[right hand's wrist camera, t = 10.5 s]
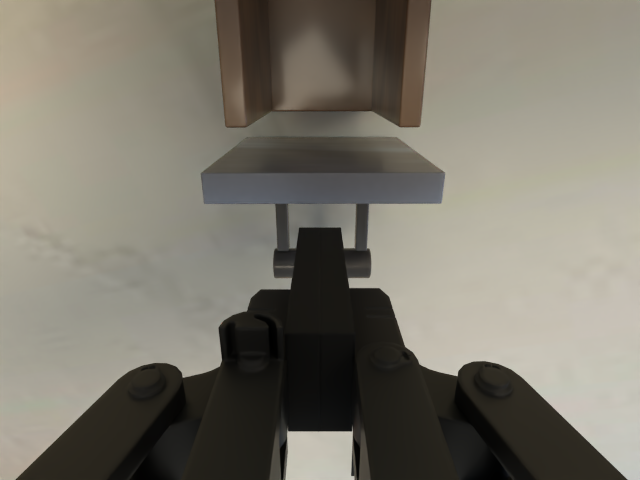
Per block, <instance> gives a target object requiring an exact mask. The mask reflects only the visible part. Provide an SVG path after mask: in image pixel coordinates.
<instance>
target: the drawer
mask: <svg viewBox="0 0 640 480" xmlns="http://www.w3.org/2000/svg"><path fill="white" fill-rule="evenodd" d="M215 11H216V23H217V34H218V46H219V58H220V69H221V81H222V93H223V104H224V116H225V126H226V127H247V126H249V125H251V124H252V123H254V122H255V121H257V120H258V119H260V118H262V117H263V116H265V115H266V114H268V113H270V112H271V111H373V112H375V113H377V114H378V115H380V116H382V117H383V118H385V119H387V120H389V121H390V122H392V123H394V124H396V125H397V126H399V127H420V125H421V114H422V102H423V91H424V79H425V68H426V57H427V45H428V34H429V22H430V11H431V0H215ZM444 179H445V173H444V172H443V171H442V170H440V169H439V168H438V167H436V166H435V165H434V164H432V163H431V162H430V161H428V160H427V159H425V158H424V157H423V156H421V155H420V154H419V153H417V152H416V151H415V150H413V149H412V148H411V147H409V146H408V145H406V144H405V143H404V142H402V141H401V140H400V139H398V138H397V137H302V138H246V139H244V140H243V141H242V142H241V143H239V144H238V145H237V146H235V147H234V148H233V149H232V150H230V151H229V152H228V153H226V154H225V155H224V156H222V157H221V158H220V159H219V160H217V161H216V162H215V163H213V164H212V165H211V166H210V167H208V168H207V169H206V170H204V171H203V172H202V173H201V180H202V189H203V198H204V203H205V204H276V225H277V248H276V249H275V250H274V258H273V270H274V277H275V278H292V276H293V269H294V262H295V255H296V248H289V247H290V244H289V212H288V204H356V224H355V248H344V255H345V262H346V269H347V276H348V278H370V275H371V253H370V249H369V248H367V235H368V213H369V204H423V203H442V196H443V187H444Z"/></svg>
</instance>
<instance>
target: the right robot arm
mask: <svg viewBox="0 0 640 480" xmlns="http://www.w3.org/2000/svg"><path fill="white" fill-rule="evenodd" d="M219 336H220V345H221V354H222V362H221V365H220V367H218V368H216V369H214V370H212V371H209V372H206V373H203V374H199V375H194V376H190V377H185V378H182V373H181V371H180V370H179V369H178V368H177V367H176V366H173V365H170V364H167V363H153V364H148V365H143V366H140V367H138V368H136V369H134V370H131V371H129V372H128V373H126V374H125V375H124V376H122V377H121V378H120V379H118V380H117V381H116V382H115V383H114V384H113V385H112V386H111V387H110V388H109V389H108V390H107V391H106V392H105V393H104V394H103V395H102V396H101V397H100V398H99V399H98V400H97V401H96V402H95V403H94V404H93V405H92V406H91V407H90V408H89V409H88V410H87V411H86V412H85V413H84V414H83V415H81V416H80V417H79V418H78V419H77V420H76V421H75V422H74V423H73V424H72V425H71V426H70V427H69V428H68V429H67V430H66V431H65V432H64V433H63V434H62V435H61V436H60V437H59V438H58V439H57V440H56V441H55V442H54V443H53V444H52V445H51V446H50V447H49V448H48V449H47V450H46V451H45V452H44V453H42V454H41V455H40V456H39V457H38V458H37V459H36V460H35V461H34V462H33V463H32V464H31V465H30V466H29V467H28V468H27V469H26V470H25V471H24V472H23V473H22V474H21V475H20V476H19V477H18V478H17V479H16V480H285V478H286V466H287V454H288V447H287V429H288V431H352V427H353V447H352V471H351V476H354V477H355V480H627V479H626V478H625V477H624V476H623V475H622V474H621V473H620V472H619V471H618V470H617V469H616V468H615V467H614V466H613V465H612V464H611V463H610V462H609V461H608V460H607V459H605V458H604V457H603V456H602V455H601V454H600V453H599V452H598V451H597V450H596V449H595V448H594V447H593V446H592V445H591V444H590V443H589V442H588V441H587V440H586V439H585V438H584V437H583V436H582V435H581V434H580V433H579V432H578V431H577V430H575V429H574V428H573V427H572V426H571V425H570V424H569V423H568V422H567V421H566V420H565V419H564V418H563V417H562V416H561V415H560V414H559V413H558V412H557V411H556V410H555V409H554V408H553V407H552V406H551V405H550V404H549V403H548V402H547V401H546V400H544V399H543V398H542V397H541V396H540V395H539V394H538V393H537V392H536V391H535V390H534V389H533V388H532V387H531V386H530V385H529V384H528V383H527V382H526V381H525V380H524V379H523V378H522V377H520V376H519V375H518V374H516V373H515V372H514V371H512V370H511V369H508V368H506V367H504V366H502V365H499V364H495V363H491V362H486V361H480V362H471V363H468V364H465V365H464V366H463V367H462V368H461V369H460V370H459V371H458V376H453V375H449V374H444V373H440V372H436V371H433V370H430V369H427V368H425V367H423V366H421V365H420V364H419V362H418V360H417V358H416V356H415V355H414V353H413V352H411V351H410V350H409V349H407V348H406V347H405V345H404V342H403V339H402V336H401V333H400V330H399V327H398V323H397V320H396V318H395V314H394V311H393V309H392V305H391V302H390V298H389V297H388V296H387V295H386V294H385V293H384V292H383V291H382V290H381V289H380V288H349V283H348V276H347V269H346V262H345V255H344V248H343V241H342V234H341V228H299V234H298V241H297V248H296V255H295V262H294V269H293V276H292V283H291V290H260V291H259V292H257V293H256V294H255V295H254V296H253V297H252V298H251V300H250V303H249V306H248V310H247V312H241V313H238V314H235V315H232V316H231V317H229V318H228V319H226V320H224V321H223V322H222V324H221V325H220V326H219Z"/></svg>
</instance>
